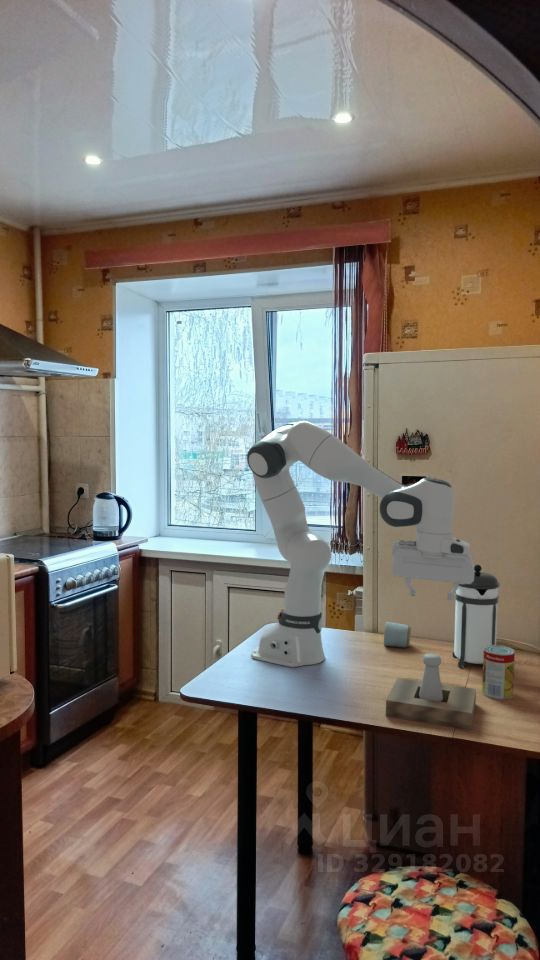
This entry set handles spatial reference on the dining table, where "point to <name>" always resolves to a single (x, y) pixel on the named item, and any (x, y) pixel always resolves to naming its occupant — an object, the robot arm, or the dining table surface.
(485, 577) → the coffee press
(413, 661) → the dining table surface
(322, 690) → the dining table surface
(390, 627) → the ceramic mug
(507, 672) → the canned food
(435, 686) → the salt shaker
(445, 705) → the walnut holder
